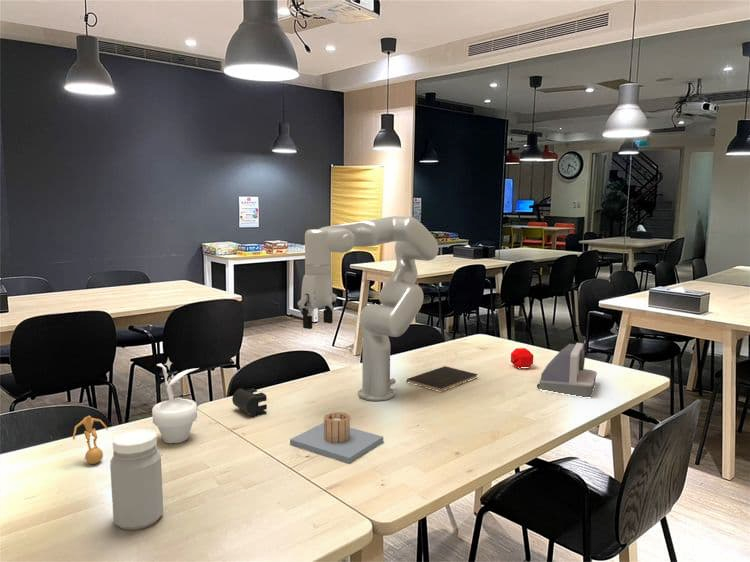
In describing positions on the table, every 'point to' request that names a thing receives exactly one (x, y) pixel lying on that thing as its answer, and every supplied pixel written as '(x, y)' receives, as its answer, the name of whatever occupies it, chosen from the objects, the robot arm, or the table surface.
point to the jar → (136, 479)
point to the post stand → (339, 451)
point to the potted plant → (174, 412)
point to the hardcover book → (442, 378)
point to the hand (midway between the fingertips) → (318, 325)
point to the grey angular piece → (568, 373)
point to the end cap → (250, 401)
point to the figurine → (94, 453)
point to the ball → (522, 357)
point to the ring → (336, 427)
